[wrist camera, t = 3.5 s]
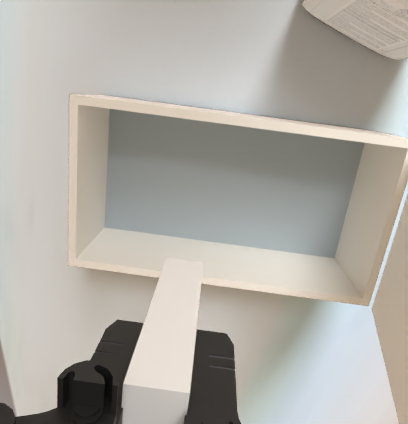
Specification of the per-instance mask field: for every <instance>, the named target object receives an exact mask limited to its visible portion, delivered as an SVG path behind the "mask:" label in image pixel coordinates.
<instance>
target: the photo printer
mask: <svg viewBox="0 0 408 424" xmlns="http://www.w3.org/2000/svg"><path fill="white" fill-rule="evenodd" d="M303 1H304V2H303V3H302V6H303V7H304V8H305V9H306V10H307V11H308V12H309V13H311V14H312V15H313V16H315V17H316V18H318V19H319V20H321V21H322V22H324V23H326V24H327V25H329V26H331V27H332V28H334V29H336V30H337V31H339V32H341V33H343V34H344V35H346V36H348V37H349V38H351V39H353V40H355V41H357V42H358V43H360V44H362V45H364V46H366V47H367V48H369V49H371V50H373V51H375V52H377V53H379V54H381V55H383V56H385V57H388V58H392V59H396V60H400V59H405V58H408V0H303Z"/></svg>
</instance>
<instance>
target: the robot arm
mask: <svg viewBox="0 0 408 424" xmlns="http://www.w3.org/2000/svg"><path fill="white" fill-rule="evenodd" d="M203 264H204V263H200V262H193V261H185V260H178V259H171V258H166V260H165V263H164V266H163V269H162V272H161V275H160V277H159V280H158V283H157V286H156V289H155V292H154V295H153V298H152V301H151V304H150V307H149V310H148V313H147V315H146V318H145V321H144V323H138V322H130V321H123V320H117V321H115V322H114V323H113V324H112V325H110V326H109V327H108V328H107V329H106V330H105V332H104V334H103V336H102V338H101V340H100V343H99V344H98V346H97V348H96V350H95V353H94V354H93V356H92V358H91V360H90V361H83V362H79V363H76V364H73V365H72V366H70V367H68V368H67V369H65V370H64V371H63V372H62V373H61V374H60V376H59V377H58V396H57V408H55V409H52V410H50V411H48V412H43V413H39V414H33V415H26V416H19V417H15V415H14V413H13V410H12V409H11V408H10V407H9V406H7V405H6V404H4V403H0V424H241V422H240V420H239V418H238V413H237V399H236V380H235V361H234V345H233V343H232V342H231V340H230V338H229V337H228V335H227V334H225V333H218V332H211V331H203V330H197V321H198V312H199V302H200V292H201V283H202V273H203Z"/></svg>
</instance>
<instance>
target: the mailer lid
mask: <svg viewBox="0 0 408 424" xmlns="http://www.w3.org/2000/svg"><path fill="white" fill-rule="evenodd" d="M372 312H373V316H374V320H375V325H376V329H377V333H378V337H379V341H380V346H381V350H382V354H383V358H384V362H385V366H386V371H387V375H388V379H389V383H390V387H391V392H392V396H393V400H394V404H395V408H396V412H397V417H398V421H399V424H408V195H407V198H406V201H405V204H404V207H403V211H402V214H401V217H400V220H399V223H398V227H397V230H396V233H395V236H394V239H393V243H392V246H391V249H390V252H389V255H388V259H387V262H386V265H385V268H384V271H383V275H382V278H381V281H380V284H379V287H378V290H377V294H376V297H375V300H374V303H373V306H372Z"/></svg>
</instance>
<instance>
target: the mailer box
mask: <svg viewBox="0 0 408 424" xmlns="http://www.w3.org/2000/svg"><path fill="white" fill-rule="evenodd" d="M407 181H408V138H404V137H400V136H395V135H390V134H386V133H381V132H376V131H371V130H363V129H356V128H348V127H341V126H333V125H326V124H318V123H311V122H303V121H296V120H288V119H281V118H273V117H266V116H258V115H251V114H243V113H236V112H228V111H221V110H213V109H205V108H198V107H190V106H183V105H175V104H168V103H160V102H153V101H145V100H138V99H130V98H123V97H115V96H108V95H79V94H70V100H69V208H68V266H75V267H82V268H90V269H97V270H104V271H112V272H119V273H127V274H134V275H141V276H149V277H156V278H159V277H160V275H161V272H162V269H163V266H164V263H165V260H166V258H171V259H178V260H185V261H193V262H200V263H204V264H203V273H202V283H201V284H208V285H215V286H223V287H230V288H238V289H245V290H252V291H260V292H267V293H275V294H282V295H289V296H297V297H304V298H312V299H319V300H326V301H334V302H341V303H349V304H356V305H364V306H369V303H370V300H371V297H372V294H373V291H374V287H375V284H376V281H377V278H378V274H379V271H380V268H381V265H382V261H383V258H384V255H385V252H386V248H387V245H388V242H389V239H390V236H391V232H392V229H393V226H394V223H395V219H396V216H397V213H398V210H399V206H400V203H401V200H402V197H403V194H404V190H405V187H406V184H407Z"/></svg>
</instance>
